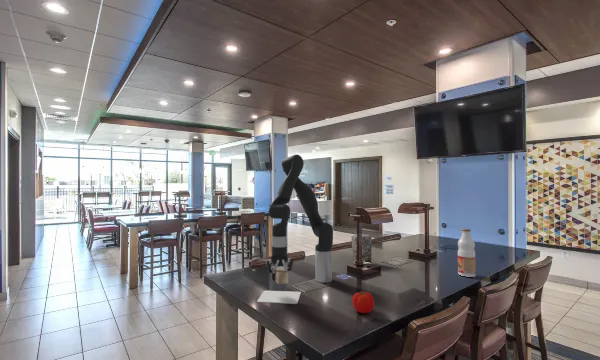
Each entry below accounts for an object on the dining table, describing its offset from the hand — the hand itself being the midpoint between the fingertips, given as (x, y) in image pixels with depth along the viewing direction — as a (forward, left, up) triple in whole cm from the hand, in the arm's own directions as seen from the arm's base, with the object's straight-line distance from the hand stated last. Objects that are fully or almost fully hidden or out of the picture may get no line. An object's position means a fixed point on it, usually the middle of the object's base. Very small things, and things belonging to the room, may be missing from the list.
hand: (279, 280), depth 149 cm
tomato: (-39, +13, -9) cm, 42 cm away
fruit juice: (-105, -47, -9) cm, 115 cm away
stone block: (-45, -69, -9) cm, 83 cm away
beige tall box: (-3, +5, +3) cm, 7 cm away
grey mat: (0, 0, -8) cm, 8 cm away
